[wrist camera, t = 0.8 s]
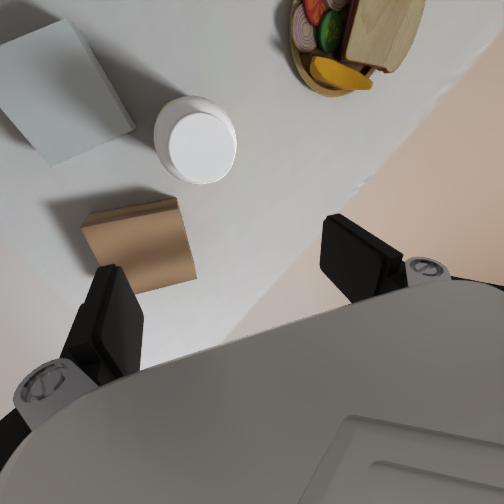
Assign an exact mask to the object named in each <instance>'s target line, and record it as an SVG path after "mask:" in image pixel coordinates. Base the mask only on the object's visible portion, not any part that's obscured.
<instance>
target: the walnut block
mask: <svg viewBox="0 0 504 504" xmlns="http://www.w3.org/2000/svg"><path fill="white" fill-rule="evenodd" d="M81 230H82V232H83V234H84V236H85V238H86V240H87V242H88V244H89V246H90V247H91V249H92V251H93V253H94V255H95V257H96V259H97V261H98V263H99V265H100V266H105V265H109V264H115V265H116V266H121V267H122V269H123V271H124V273H125V275H126V277H127V279H128V282H129V284H130V286H131V288H132V290H133V292H134V294H139V293H143V292H147V291H151V290H155V289H159V288H162V287H166V286H170V285H174V284H178V283H182V282H186V281H190V280H194V279H197V276H196V271H195V266H194V261H193V257H192V254H191V250H190V246H189V242H188V239H187V235H186V231H185V227H184V224H183V220H182V216H181V213H180V209H179V205H178V201H177V198H172V199H167V200H161V201H156V202H151V203H145V204H140V205H135V206H129V207H124V208H118V209H113V210H108V211H102V212H97V213H91V214H89V216H88V217H87V219H86V220H85V222H84V223H83V225H82V226H81Z"/></svg>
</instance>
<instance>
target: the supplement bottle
mask: <svg viewBox="0 0 504 504" xmlns="http://www.w3.org/2000/svg"><path fill="white" fill-rule="evenodd" d="M153 136H154V146H155V150H156V153H157V155H158V157H159V160H160V161H161V163H162V164H163V166H164V167H165V168H166V169H167V171H168V172H169V173H171V174H172V175H173V176H174V177H176V178H178V179H179V180H181V181H184V182H187V183H190V184H208V183H213V182H215V181H218V180H219V179H221V178H222V177H224V176H225V175H226V174H227V173H228V171H229V170H230V168H231V167H232V165H233V162H234V158H235V154H236V147H237V141H236V134H235V130H234V127H233V124H232V122H231V120H230V119H229V117H228V115H227V114H226V113H225V112H224V110H223V109H222V108H220V107H219V106H218V105H217V104H215V103H214V102H212V101H210V100H208V99H206V98H203V97H199V96H184V97H180V98H177V99H174V100H172V101H170V102H168V103H167V104H166V105H164V106H163V108H162V109H161V110H160V112H159V114H158V116H157V119H156V123H155V127H154V135H153Z"/></svg>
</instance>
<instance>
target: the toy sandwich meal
mask: <svg viewBox="0 0 504 504" xmlns="http://www.w3.org/2000/svg"><path fill="white" fill-rule="evenodd" d="M424 6H425V0H293V3H292V8H291V14H290V46H291V52H292V56H293V60H294V63H295V65H296V68H297V70H298V72H299V74H300V76H301V77H302V79H303V80H304V82H305V83H306V84H307V85H308V86H309V87H310V88H311V89H312V90H314V91H315V92H317V93H318V94H321V95H323V96H327V97H339V96H344V95H347V94H349V93H351V92H353V91H355V90H370V89H371V87H372V84H373V82H372V81H371V80H370V79H369V78H370V76H371V75H372V74H373V72H374V71H375V69H377V70H379V71H383V72H384V73H392V72H394V71H395V70H396V69H397V68H398V67H399V66H400V64H401V63H402V61H403V60H404V58H405V57H406V55H407V53H408V51H409V49H410V47H411V45H412V43H413V40H414V38H415V36H416V33H417V30H418V27H419V24H420V21H421V18H422V14H423V10H424Z"/></svg>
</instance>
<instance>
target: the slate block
mask: <svg viewBox="0 0 504 504" xmlns="http://www.w3.org/2000/svg"><path fill="white" fill-rule="evenodd" d="M0 108H1V109H2V110H3V112H4V113H5V114H6V115H7V116H8V118H9V119H10V120H11V121H12V122H13V123H14V125H15V126H16V127H17V128H18V129H19V130H20V132H21V133H22V134H23V135H24V136H25V138H26V139H27V140H28V141H29V142H30V143H31V145H32V146H33V147H34V148H35V149H36V151H37V152H38V153H39V154H40V155H41V156H42V158H43V159H44V160H45V161H46V162H47V163H48V165H49V166H50V167H52V166H55V165H57V164H59V163H61V162H64V161H66V160H68V159H70V158H73V157H75V156H77V155H79V154H81V153H84V152H86V151H88V150H90V149H93V148H95V147H97V146H99V145H102V144H104V143H106V142H108V141H110V140H113V139H115V138H117V137H119V136H122V135H124V134H126V133H128V132H131V131H133V130H134V129H135V128H136V126H135V124H134V122H133V120H132V119H131V117H130V115H129V113H128V112H127V110H126V108H125V107H124V105H123V103H122V101H121V100H120V98H119V96H118V95H117V93H116V91H115V89H114V88H113V86H112V84H111V82H110V81H109V79H108V77H107V76H106V74H105V72H104V70H103V69H102V67H101V65H100V63H99V62H98V60H97V58H96V57H95V55H94V53H93V51H92V50H91V48H90V46H89V44H88V43H87V41H86V39H85V38H84V36H83V34H82V32H81V31H80V30H79V29H78V28H77V27H75V26H74V25H73V24H72V23H71V22H70V21H69V20H67V19H66V18H65V19H62V20H60V21H57V22H55V23H53V24H50V25H48V26H45V27H43V28H41V29H38V30H36V31H33V32H31V33H28V34H26V35H24V36H21V37H19V38H16V39H14V40H12V41H9V42H7V43H4V44H2V45H0Z"/></svg>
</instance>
